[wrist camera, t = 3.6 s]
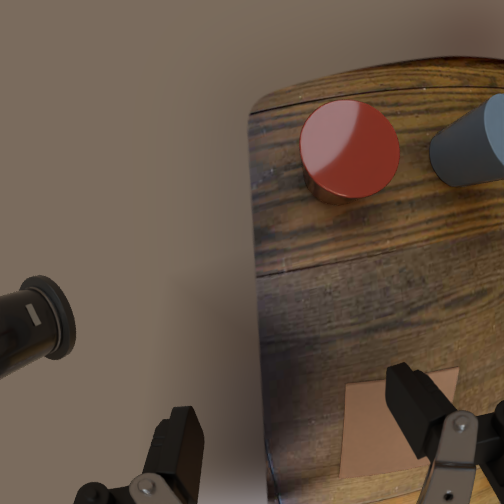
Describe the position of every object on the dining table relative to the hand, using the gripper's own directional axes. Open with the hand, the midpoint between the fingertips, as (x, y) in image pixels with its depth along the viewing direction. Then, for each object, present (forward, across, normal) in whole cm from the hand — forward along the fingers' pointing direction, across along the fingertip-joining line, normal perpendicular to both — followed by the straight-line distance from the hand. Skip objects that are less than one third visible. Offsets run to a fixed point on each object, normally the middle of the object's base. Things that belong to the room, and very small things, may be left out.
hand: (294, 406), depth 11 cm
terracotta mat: (+11, +11, -18) cm, 24 cm away
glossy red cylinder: (+16, +7, +8) cm, 19 cm away
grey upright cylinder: (+14, +19, +8) cm, 24 cm away
